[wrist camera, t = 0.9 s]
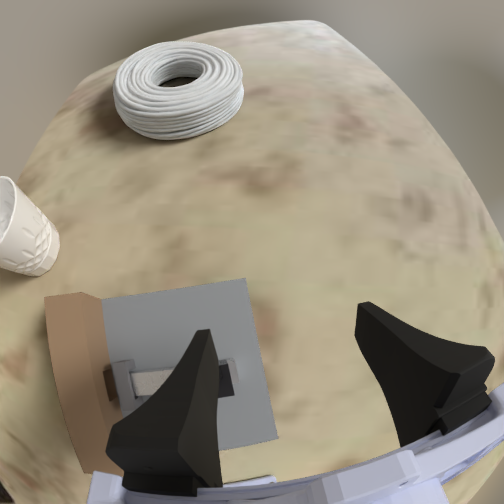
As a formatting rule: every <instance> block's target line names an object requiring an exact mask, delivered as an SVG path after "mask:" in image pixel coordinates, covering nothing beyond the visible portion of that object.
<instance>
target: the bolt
mask: <svg viewBox="0 0 504 504" xmlns="http://www.w3.org/2000/svg"><path fill="white" fill-rule="evenodd" d="M218 362H219V391H218V398H223V397H229V396H234V395H235V394H234V389H233V384H234V383H239V378H238V373H237V368H236V364H235V360H234V358H230V359H224V360H218ZM174 368H175V367H171V368H162V369H153V370H143V371H131V372H129V375H130V379H131V384H132V388H133V393H134V396H142V395H153V394H154V393H155V392H156V391H157V390H158V389H159V388H160V386H161V385H162V384H163V383H164V382H165V381H166V379H167V378H168V377H169V375H170V374H171V373H172V371H173V370H174Z"/></svg>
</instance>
